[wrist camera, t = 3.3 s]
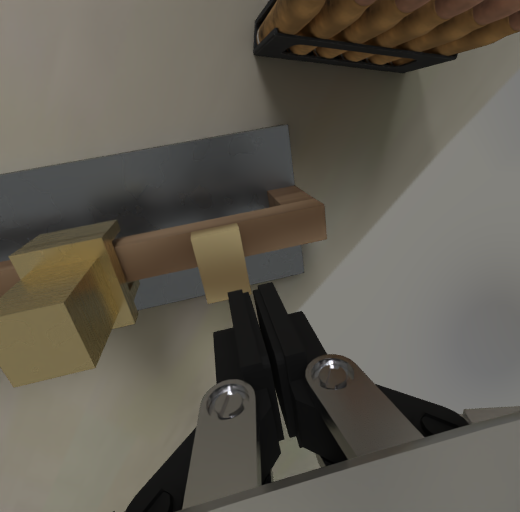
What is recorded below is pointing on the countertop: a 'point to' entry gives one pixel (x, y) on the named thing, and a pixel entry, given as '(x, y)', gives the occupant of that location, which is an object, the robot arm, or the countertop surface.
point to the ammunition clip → (381, 31)
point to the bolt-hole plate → (156, 199)
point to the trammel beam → (215, 244)
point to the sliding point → (63, 303)
